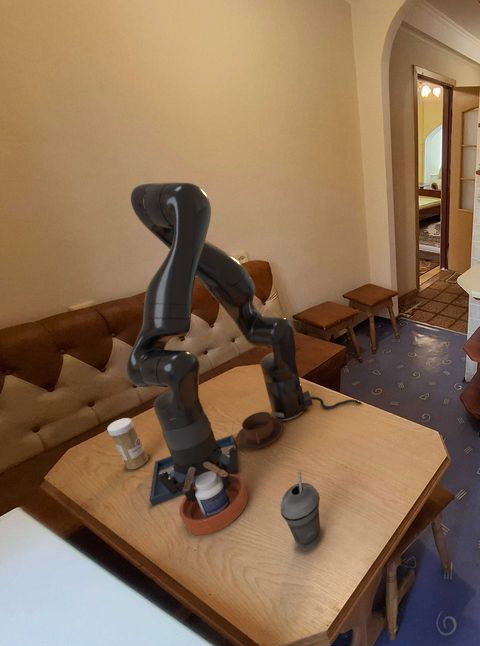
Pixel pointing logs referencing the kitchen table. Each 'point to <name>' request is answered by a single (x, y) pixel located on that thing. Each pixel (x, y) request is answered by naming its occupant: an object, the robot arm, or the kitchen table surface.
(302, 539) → the beverage cup
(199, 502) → the pill bottle
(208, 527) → the bowl
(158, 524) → the kitchen table surface
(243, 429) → the cup and saucer
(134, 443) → the sprinkles bottle
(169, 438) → the robot arm
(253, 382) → the kitchen table surface
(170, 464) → the tray
